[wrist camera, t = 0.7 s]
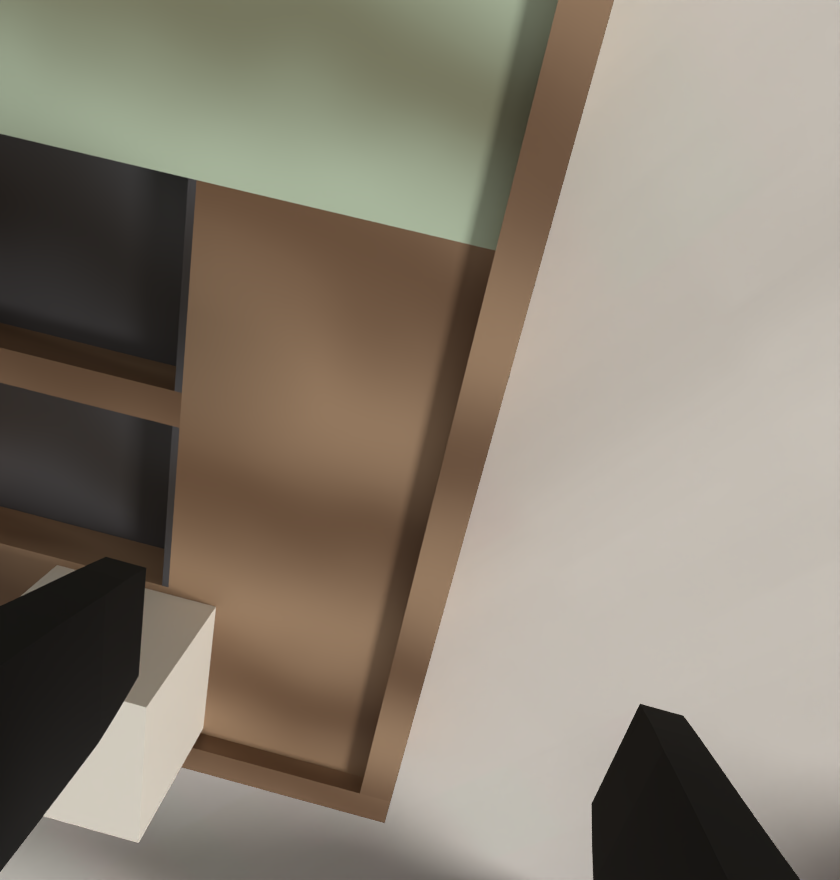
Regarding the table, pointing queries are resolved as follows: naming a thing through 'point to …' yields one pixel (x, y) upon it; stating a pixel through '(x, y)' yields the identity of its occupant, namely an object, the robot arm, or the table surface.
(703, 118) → the table surface
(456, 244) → the tray
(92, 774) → the cream block
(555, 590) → the table surface
